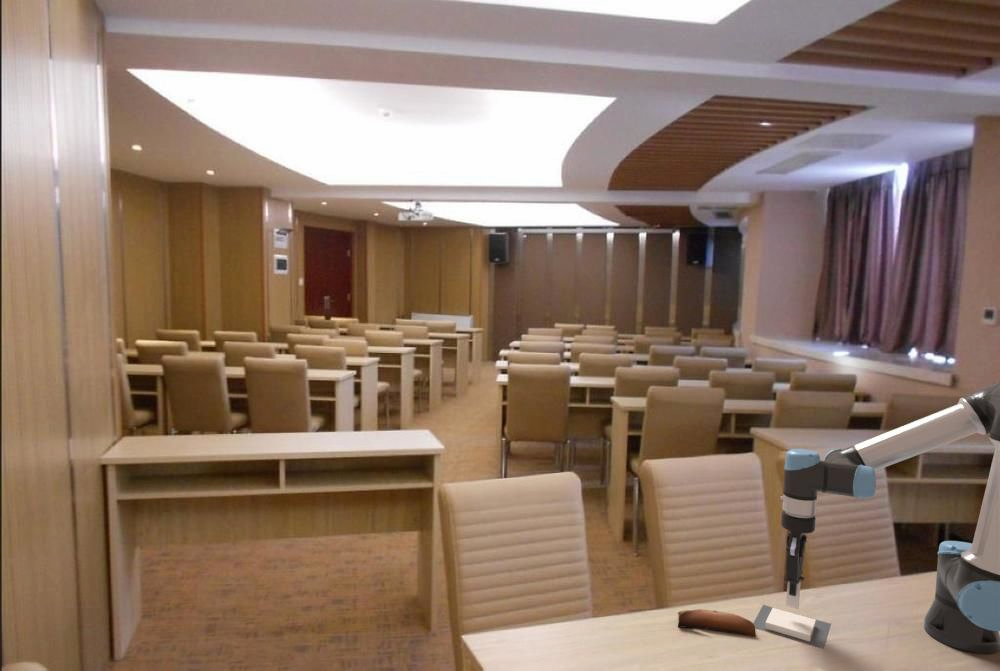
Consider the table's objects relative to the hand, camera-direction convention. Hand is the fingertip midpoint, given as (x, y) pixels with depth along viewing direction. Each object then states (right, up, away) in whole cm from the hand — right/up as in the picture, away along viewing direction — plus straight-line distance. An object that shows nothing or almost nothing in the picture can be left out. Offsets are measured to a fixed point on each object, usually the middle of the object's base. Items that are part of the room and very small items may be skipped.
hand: (792, 606), depth 158 cm
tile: (+1, -4, +3) cm, 5 cm away
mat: (0, -5, 0) cm, 5 cm away
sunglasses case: (-19, -6, 0) cm, 20 cm away
